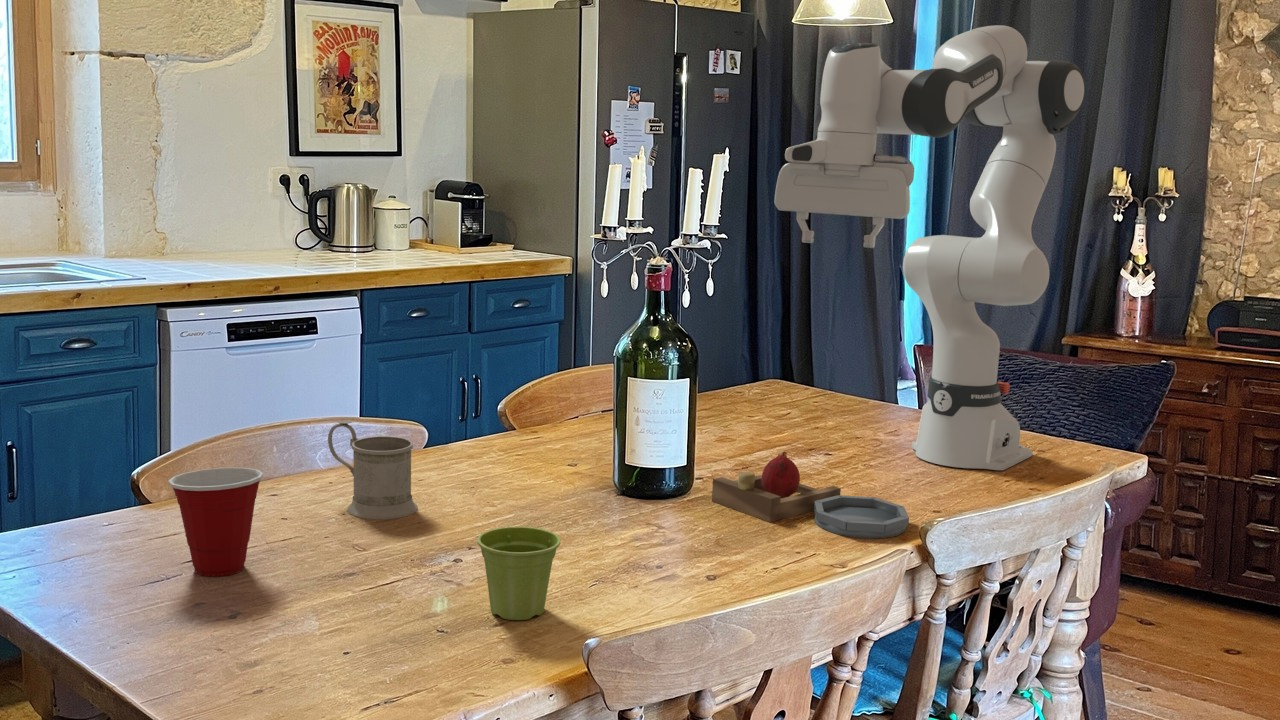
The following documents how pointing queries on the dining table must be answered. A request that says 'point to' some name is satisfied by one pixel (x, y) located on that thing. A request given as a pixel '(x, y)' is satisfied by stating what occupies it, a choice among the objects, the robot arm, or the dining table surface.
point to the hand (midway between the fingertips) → (837, 245)
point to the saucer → (860, 516)
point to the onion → (781, 476)
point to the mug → (379, 475)
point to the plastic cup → (217, 516)
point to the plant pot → (518, 569)
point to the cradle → (766, 497)
